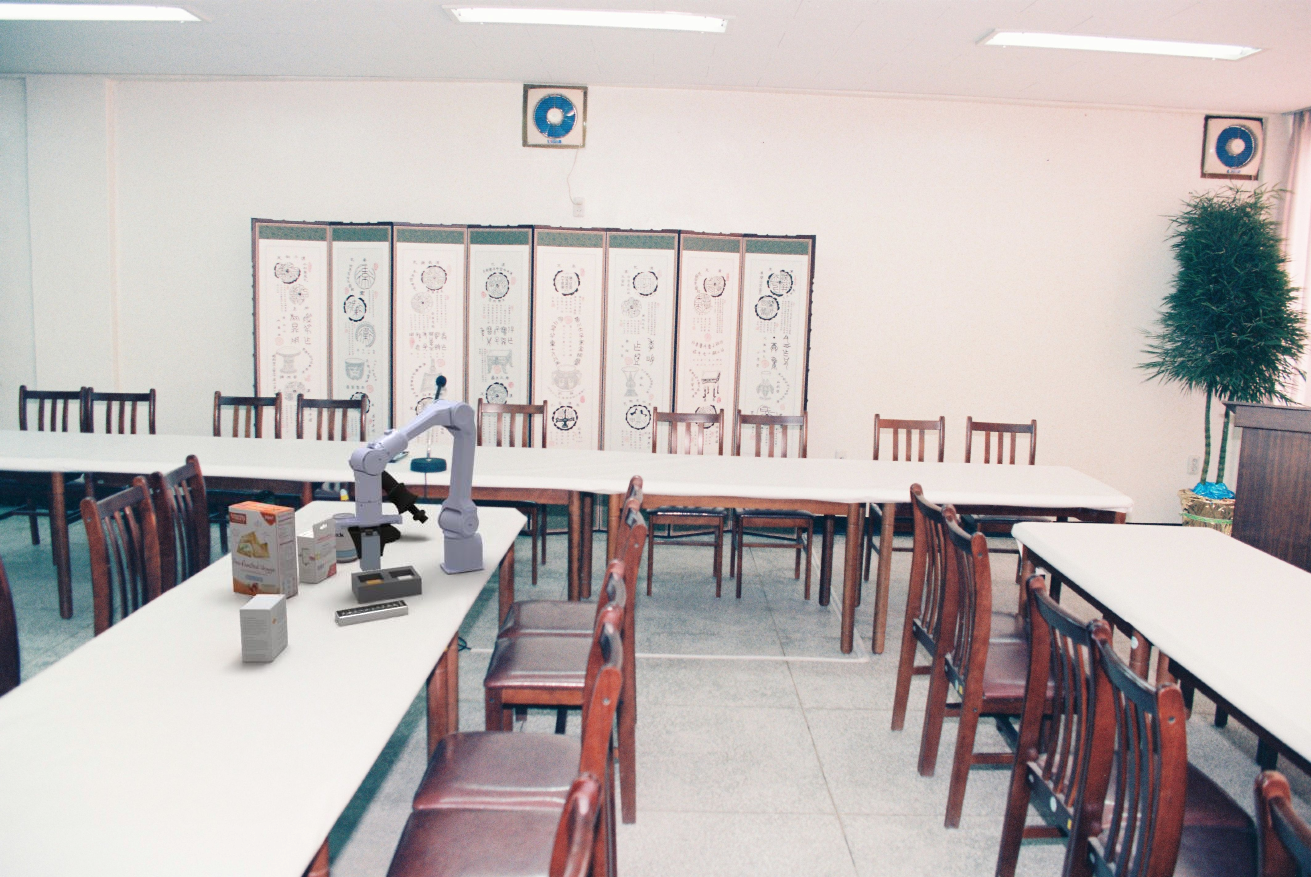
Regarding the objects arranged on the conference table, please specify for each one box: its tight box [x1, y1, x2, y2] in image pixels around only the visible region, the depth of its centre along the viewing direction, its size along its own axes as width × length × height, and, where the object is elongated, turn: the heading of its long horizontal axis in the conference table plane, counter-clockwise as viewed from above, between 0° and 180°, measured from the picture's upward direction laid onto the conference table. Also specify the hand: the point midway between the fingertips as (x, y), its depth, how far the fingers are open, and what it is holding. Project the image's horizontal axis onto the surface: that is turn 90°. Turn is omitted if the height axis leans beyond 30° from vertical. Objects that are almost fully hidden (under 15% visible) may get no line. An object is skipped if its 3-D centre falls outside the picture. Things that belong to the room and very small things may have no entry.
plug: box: [358, 529, 382, 572], centre depth 178 cm, size 4×4×9 cm
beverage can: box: [331, 512, 357, 563], centre depth 203 cm, size 7×7×12 cm
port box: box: [350, 565, 423, 604], centre depth 181 cm, size 14×10×4 cm
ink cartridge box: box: [296, 516, 338, 584], centre depth 189 cm, size 9×5×15 cm, turn 168°
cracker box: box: [228, 500, 299, 600], centre depth 176 cm, size 14×6×21 cm, turn 70°
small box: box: [239, 594, 289, 663], centre depth 147 cm, size 8×6×10 cm
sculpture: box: [359, 469, 429, 545], centre depth 222 cm, size 15×24×25 cm, turn 88°
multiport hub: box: [334, 599, 409, 627], centre depth 167 cm, size 4×14×2 cm, turn 123°
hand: (370, 556), depth 179 cm, fingers closed on plug, 4 cm apart
